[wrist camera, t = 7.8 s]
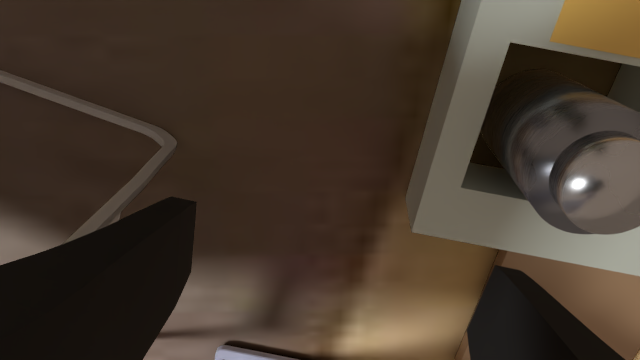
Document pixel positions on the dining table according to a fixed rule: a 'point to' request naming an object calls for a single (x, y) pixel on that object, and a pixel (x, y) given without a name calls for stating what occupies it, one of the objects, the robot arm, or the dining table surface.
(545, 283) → the brown square tile
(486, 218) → the port box
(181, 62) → the dining table surface
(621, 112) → the plug
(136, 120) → the chair
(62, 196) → the dining table surface
